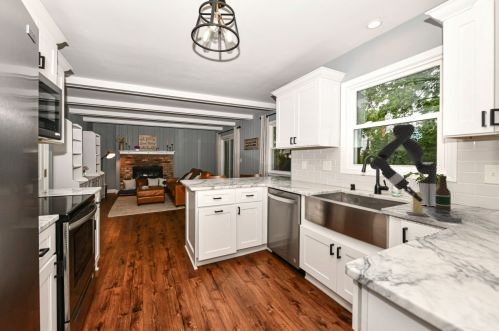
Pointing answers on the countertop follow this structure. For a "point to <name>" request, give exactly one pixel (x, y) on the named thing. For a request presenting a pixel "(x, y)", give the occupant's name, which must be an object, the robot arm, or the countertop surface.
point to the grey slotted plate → (443, 215)
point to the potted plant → (443, 195)
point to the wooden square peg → (417, 204)
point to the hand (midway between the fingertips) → (420, 200)
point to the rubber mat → (417, 215)
